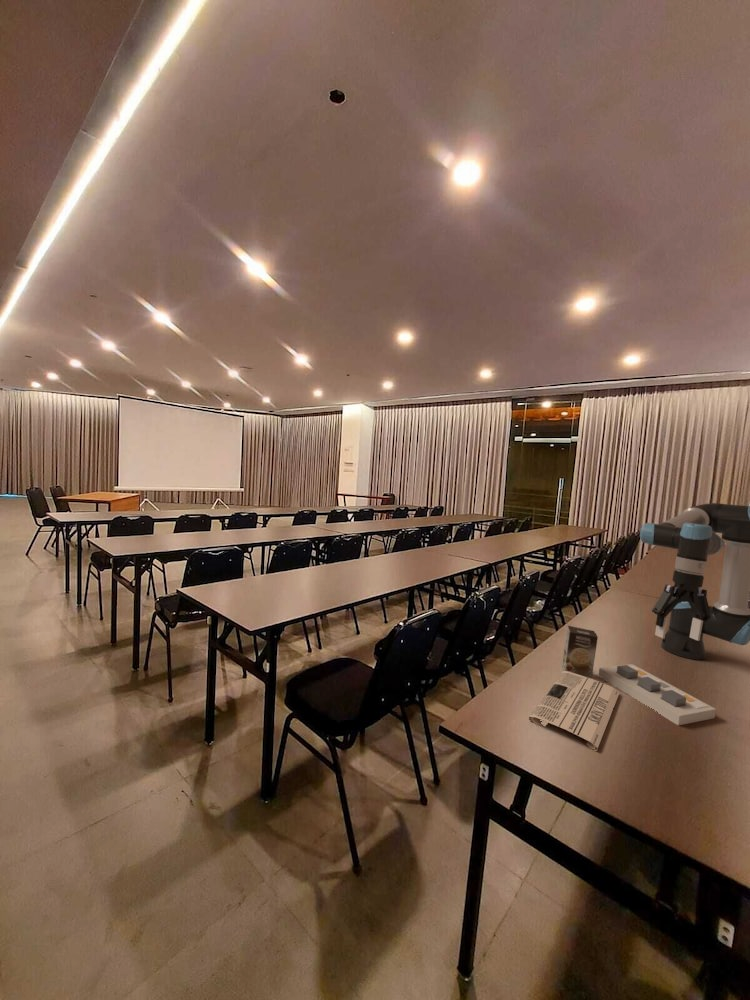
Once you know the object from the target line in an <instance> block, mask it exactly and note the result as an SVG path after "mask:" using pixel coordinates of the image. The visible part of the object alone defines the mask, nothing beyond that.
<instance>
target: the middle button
mask: <svg viewBox="0 0 750 1000" xmlns="http://www.w3.org/2000/svg"><path fill="white" fill-rule="evenodd" d="M638 686H640V687H642V688H643V689H645V690H647V691H649V692H650V693H651V692H658V691H660V687H661V684H660V683H659V682H657V681H655V680H653V679H651V678H649V677H643V678H639V679H638Z"/></svg>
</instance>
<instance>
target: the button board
mask: <svg viewBox="0 0 750 1000" xmlns="http://www.w3.org/2000/svg"><path fill="white" fill-rule="evenodd" d="M623 665H624V664H621V665H614V666H606V667H605V666H603V667H599V669H598V677H599V678H601V679H603V680H604V681H606V682H607V683H609V684H611V686H614V688H615V687H616V689H619V690H620V691H622V692H623V693H625V694H627V695H628V696H630V697H632V698H633V699H635V700H636V699H637V700H636V701H638V702H639V701H640V702H639V703H641V704H642V705H644V704H645V706H646V705H647V706H646V707H648V706H649V707H650V709H651V708H652V709H654V710H655V711H654V710H653V711H654V712H656V711H657V712H658V713H657V712H656V713H657V714H659V715H660V714H661V715H660V716H662V717H664V718H665V719H667V720H669V721H670V722H672V723H673V724H675V725H676V726H682V725H688V724H692V723H697V722H702V721H707V720H713V719H715V718H716V711H717V709H716V708H715V707H713V706H711V705H709V704H708V703H705V702H704V701H702V700H701V699H699V698H696V697H694V696H692V695H691V694H688V693H687V692H685V691H683V690H681V689H680V688H679V687H676V686H674V685H672V684H670V683H668V682H667V681H665V680H664V679H661V678H659V677H658V676H655V674H654V675H653V674H652V673H650V672H648V671H646V670H644V669H642V668H641V667H639V666H637V665H635V664H633V663H630V664H628V663H627V664H626V665H628V666H629V667H631V668H633V669H635V670H637V671H638V676H637V678H635V679H626V678H625V677H623V676H621V675H619V674H618V673H617V666H623ZM643 677H649V678H651V679H653V680H655V681H657V682H659V683H660V684H661V687H660V691H658V692H651V693H650V692H649V691H647V690H645V689H643V688H642V687H640V686H638V679H639V678H643ZM669 690H673V691H675V692H677V693H679V694H680V695H682V696H684V697H686V704H685V706H681V707H674V706H673V705H671V704H669V703H667V702H666V701H664V700H662V699H661V697H662V691H669ZM649 707H648V708H649ZM652 709H651V710H652Z"/></svg>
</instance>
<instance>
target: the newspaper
mask: <svg viewBox="0 0 750 1000" xmlns="http://www.w3.org/2000/svg"><path fill="white" fill-rule="evenodd" d="M620 693H621V692H620V691H619V690H617V688H615V687H613V686H612V685H608V684H606V683H603V682H601V681H599V680H596V679H593V678H592V679H591V678H588V677H585V676H582V675H578V674H575V673H572V672H569V671H563V670H562V672H561V673H560V675H559V676H558V677H557V679H556V680H555V681H554V683H553V684H552V686H551V687H550V688H549V690H547V692H546V693H545V695H544V696H543V698H541V700H540V702H539V703H538V704H537V706H536V707H535V708H534V710H533V711H532V712H531V714H530V715H529V716H528V720H529V722H530V723H532V722H533V724H536V723H537V724H536V725H539V724H541V722H542V721H540V720H543V721H546V722H548V723H549V724H551V725H553V726H556V727H558V728H561V729H563V730H565V731H567V732H569V733H572V734H573V735H576V736H578V737H579V738H580V739H584V740H585V741H586V744H585V745H586V746H587V747H589V748H590V749H591V750H593V751H595V752H598V749H599V747H600V744H601V741H602V739H603V737H604V734H605V731H606V728H607V727H608V723H609V721H610V719H611V716H612V713H613V711H614V709H613V708H615V706H616V703H617V701H618V699H619V696H620ZM531 721H532V722H531Z"/></svg>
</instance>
